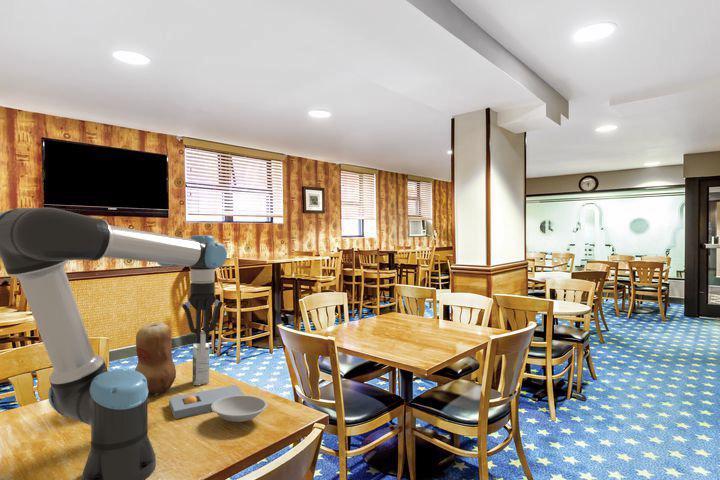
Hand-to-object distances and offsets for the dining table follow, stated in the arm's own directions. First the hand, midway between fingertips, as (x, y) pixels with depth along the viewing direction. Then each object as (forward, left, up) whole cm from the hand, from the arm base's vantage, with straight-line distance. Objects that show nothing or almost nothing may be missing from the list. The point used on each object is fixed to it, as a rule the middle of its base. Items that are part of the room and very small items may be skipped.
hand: (202, 352), depth 136 cm
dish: (-17, -7, -18) cm, 26 cm away
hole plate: (0, -2, -18) cm, 18 cm away
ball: (0, +4, -16) cm, 16 cm away
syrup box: (+22, -4, -18) cm, 29 cm away
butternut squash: (+19, +12, -18) cm, 29 cm away
